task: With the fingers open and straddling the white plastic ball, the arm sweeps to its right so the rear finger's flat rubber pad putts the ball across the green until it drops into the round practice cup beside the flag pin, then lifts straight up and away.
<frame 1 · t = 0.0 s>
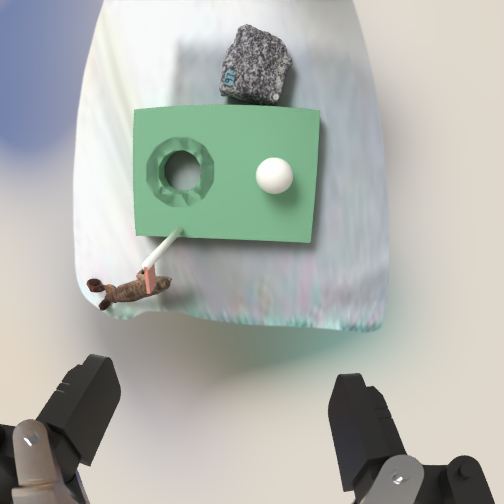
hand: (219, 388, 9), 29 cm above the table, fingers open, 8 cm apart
green: (223, 170, 35), on the table
rock: (252, 70, 31), on the table
ball: (274, 175, 31), point 4 cm above the table, touching green
toy: (135, 280, 41), on the table
pin: (184, 224, 37), resting on green
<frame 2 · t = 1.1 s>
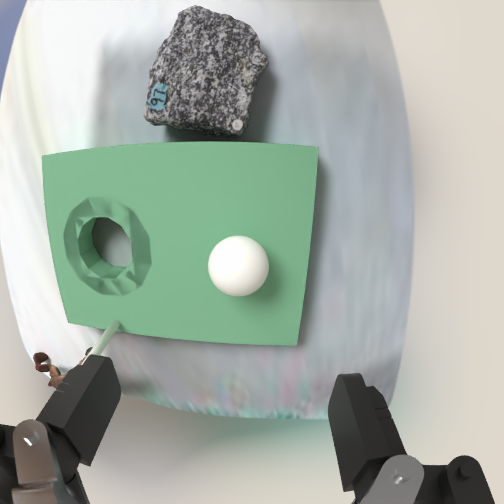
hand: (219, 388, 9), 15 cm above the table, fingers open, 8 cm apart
green: (169, 241, 24), on the table
rock: (205, 78, 19), on the table
ball: (238, 266, 19), point 4 cm above the table, touching green
toy: (83, 360, 30), on the table
pin: (126, 308, 26), resting on green
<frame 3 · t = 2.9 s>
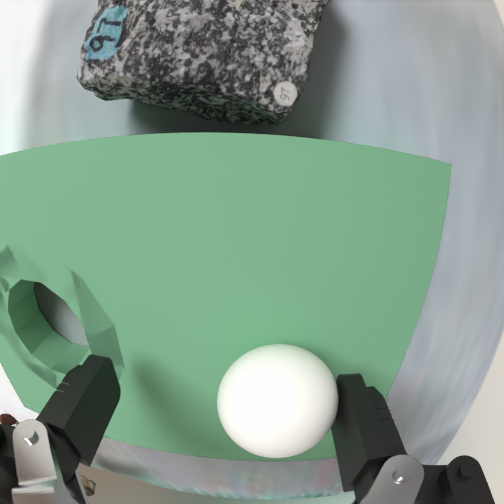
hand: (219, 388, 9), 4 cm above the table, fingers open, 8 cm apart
green: (154, 318, 13), on the table
rock: (210, 18, 9), on the table
ball: (278, 401, 9), point 4 cm above the table, tilted 16°, touching green, gripper
toy: (56, 433, 19), on the table
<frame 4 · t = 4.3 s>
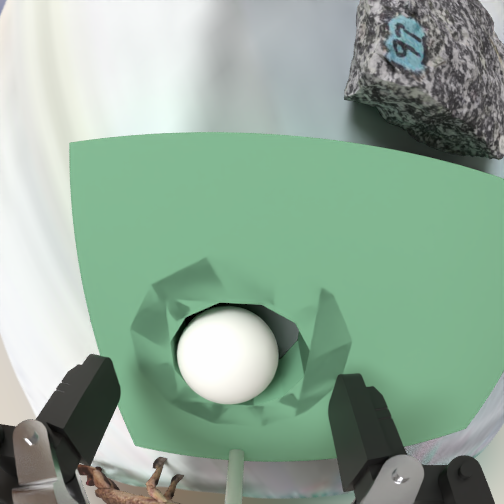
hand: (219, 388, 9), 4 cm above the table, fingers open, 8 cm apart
green: (349, 328, 13), on the table
rock: (408, 43, 9), on the table
ball: (227, 355, 11), point 2 cm above the table, tilted 50°
toy: (139, 462, 19), on the table
pin: (239, 419, 15), resting on green
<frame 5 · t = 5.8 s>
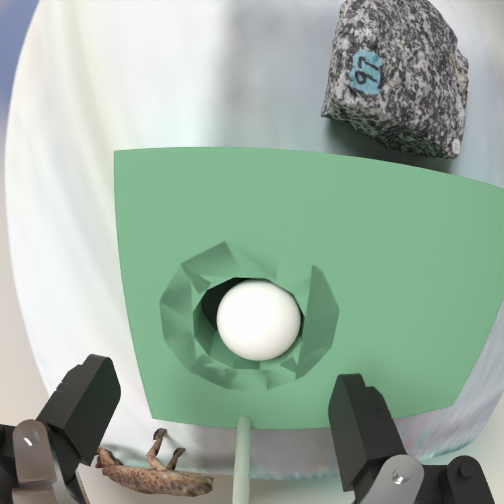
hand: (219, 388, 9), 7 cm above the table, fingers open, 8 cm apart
green: (338, 305, 16), on the table
rock: (379, 64, 12), on the table
ball: (258, 319, 14), point 2 cm above the table, tilted 77°
toy: (143, 439, 21), on the table
pin: (245, 392, 18), resting on green
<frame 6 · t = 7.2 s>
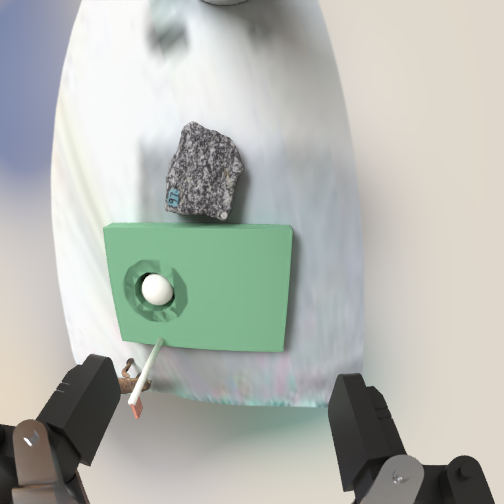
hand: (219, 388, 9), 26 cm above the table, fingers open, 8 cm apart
green: (197, 285, 36), on the table
rock: (202, 174, 32), on the table
ball: (157, 288, 34), point 2 cm above the table, tilted 73°
toy: (122, 368, 42), on the table
pin: (165, 329, 38), resting on green
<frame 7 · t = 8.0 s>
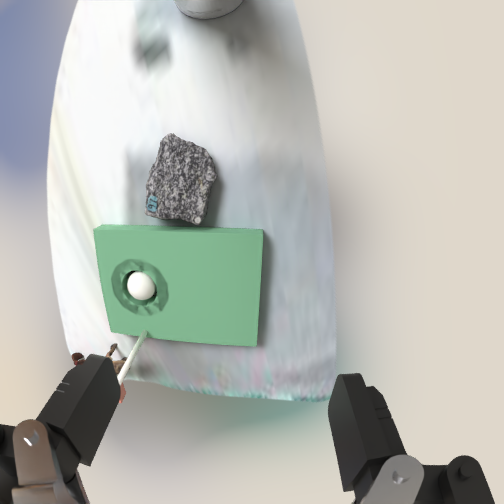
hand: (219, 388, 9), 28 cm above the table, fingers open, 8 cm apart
green: (178, 283, 39), on the table
rock: (180, 181, 35), on the table
ball: (141, 285, 37), point 2 cm above the table, tilted 71°
toy: (108, 354, 45), on the table
pin: (150, 322, 41), resting on green
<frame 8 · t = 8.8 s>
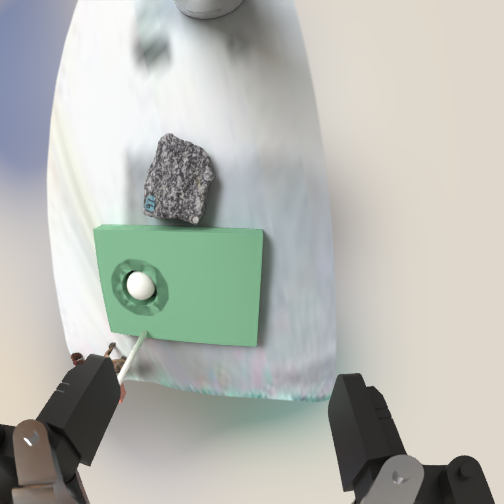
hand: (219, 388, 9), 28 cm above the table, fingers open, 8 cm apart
green: (178, 283, 39), on the table
rock: (178, 181, 35), on the table
ball: (141, 284, 37), point 2 cm above the table, tilted 69°
toy: (107, 354, 45), on the table
pin: (150, 322, 41), resting on green
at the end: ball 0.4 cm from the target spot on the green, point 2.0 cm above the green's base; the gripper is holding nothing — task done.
